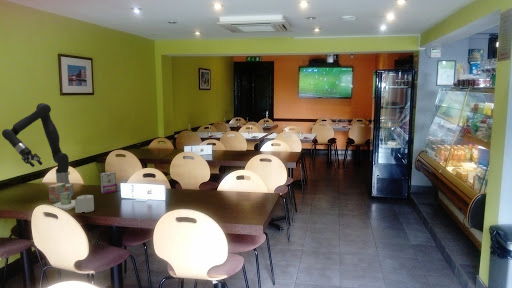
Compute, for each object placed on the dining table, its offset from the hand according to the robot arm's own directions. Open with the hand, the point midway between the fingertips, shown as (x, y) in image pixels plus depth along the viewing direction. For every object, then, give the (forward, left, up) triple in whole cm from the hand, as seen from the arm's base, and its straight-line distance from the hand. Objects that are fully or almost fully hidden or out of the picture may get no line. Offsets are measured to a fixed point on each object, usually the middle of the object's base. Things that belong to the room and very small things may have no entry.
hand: (37, 165), depth 316 cm
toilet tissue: (+18, +49, -28) cm, 59 cm away
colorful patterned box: (-11, +10, -28) cm, 32 cm away
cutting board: (+8, +27, -28) cm, 40 cm away
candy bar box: (-35, +36, -28) cm, 58 cm away
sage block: (+8, +27, -26) cm, 39 cm away
